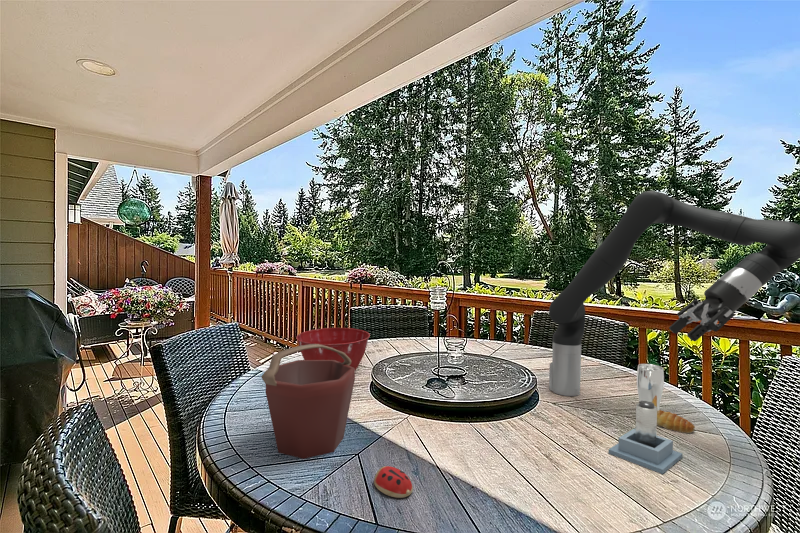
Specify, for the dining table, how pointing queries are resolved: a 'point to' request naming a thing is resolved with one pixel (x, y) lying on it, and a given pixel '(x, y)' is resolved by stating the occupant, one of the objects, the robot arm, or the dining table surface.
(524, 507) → the dining table surface
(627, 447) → the dock
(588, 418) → the dining table surface
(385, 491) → the ladybug figurine
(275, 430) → the bucket
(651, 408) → the thermos
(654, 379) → the beer glass
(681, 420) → the pastry
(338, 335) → the mixing bowl
